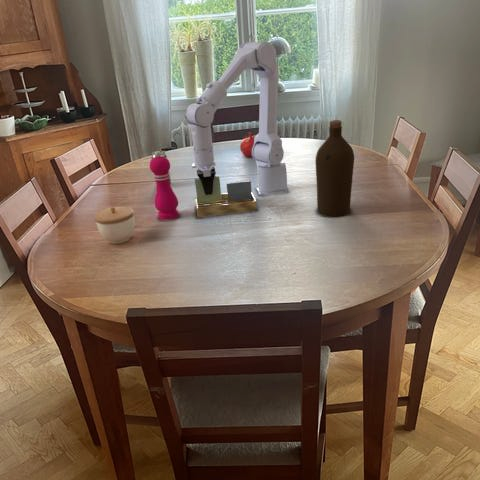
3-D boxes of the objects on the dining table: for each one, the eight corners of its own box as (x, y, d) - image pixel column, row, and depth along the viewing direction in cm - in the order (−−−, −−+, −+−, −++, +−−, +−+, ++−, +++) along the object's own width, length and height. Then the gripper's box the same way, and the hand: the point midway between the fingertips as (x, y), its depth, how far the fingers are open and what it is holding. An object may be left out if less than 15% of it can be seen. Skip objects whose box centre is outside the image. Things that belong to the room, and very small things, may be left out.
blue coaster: (252, 203, 151) (250, 180, 147) (252, 204, 151) (250, 181, 147) (228, 206, 151) (226, 183, 147) (228, 207, 150) (226, 184, 146)
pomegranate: (264, 157, 198) (263, 134, 193) (240, 159, 198) (238, 136, 193) (264, 151, 206) (262, 128, 201) (241, 153, 206) (239, 130, 201)
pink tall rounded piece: (160, 189, 174) (154, 155, 167) (154, 186, 177) (148, 152, 171) (173, 185, 176) (168, 152, 169) (167, 182, 180) (161, 149, 173)
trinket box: (120, 249, 131) (112, 216, 126) (93, 243, 136) (84, 212, 131) (146, 234, 139) (139, 203, 134) (119, 229, 144) (112, 199, 139)
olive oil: (355, 216, 137) (359, 123, 123) (317, 219, 137) (318, 127, 124) (348, 203, 146) (351, 115, 132) (313, 206, 146) (313, 119, 133)
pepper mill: (184, 213, 151) (174, 147, 140) (174, 221, 145) (163, 154, 134) (163, 212, 153) (152, 147, 142) (153, 220, 147) (140, 154, 137)
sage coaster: (221, 199, 150) (219, 175, 145) (221, 200, 149) (219, 176, 145) (197, 202, 149) (194, 178, 145) (197, 203, 149) (194, 179, 144)
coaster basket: (252, 199, 156) (251, 190, 154) (256, 211, 147) (256, 201, 145) (196, 206, 155) (194, 197, 153) (197, 218, 146) (196, 208, 144)
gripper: (188, 144, 146) (195, 187, 154) (190, 155, 134) (196, 202, 141) (211, 141, 146) (216, 185, 154) (215, 152, 134) (220, 199, 142)
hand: (208, 193), depth 148 cm, fingers closed on sage coaster, 1 cm apart
